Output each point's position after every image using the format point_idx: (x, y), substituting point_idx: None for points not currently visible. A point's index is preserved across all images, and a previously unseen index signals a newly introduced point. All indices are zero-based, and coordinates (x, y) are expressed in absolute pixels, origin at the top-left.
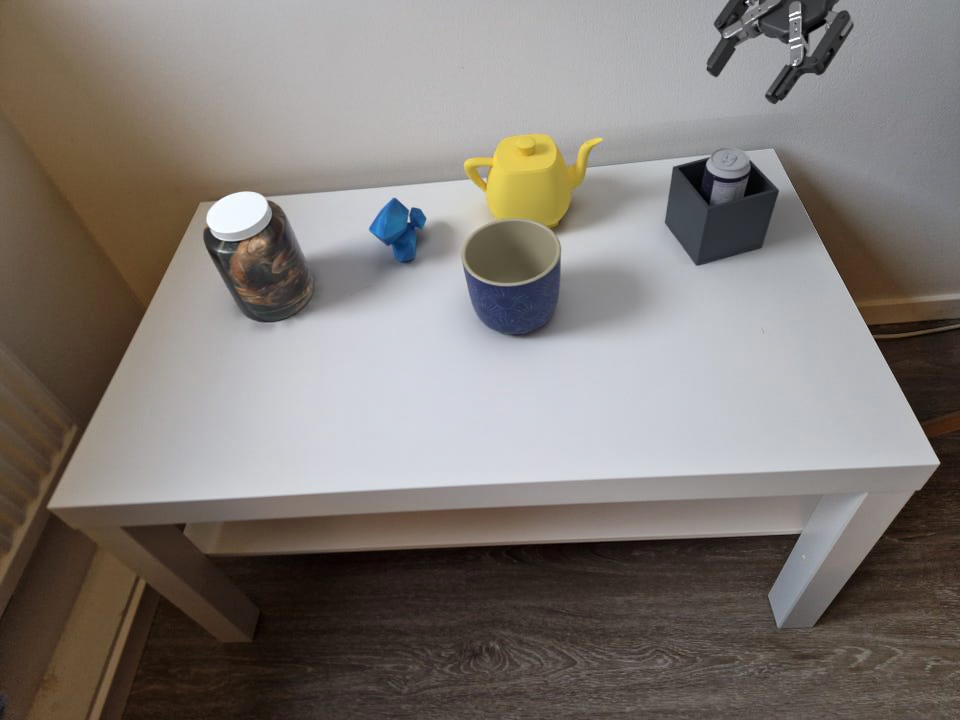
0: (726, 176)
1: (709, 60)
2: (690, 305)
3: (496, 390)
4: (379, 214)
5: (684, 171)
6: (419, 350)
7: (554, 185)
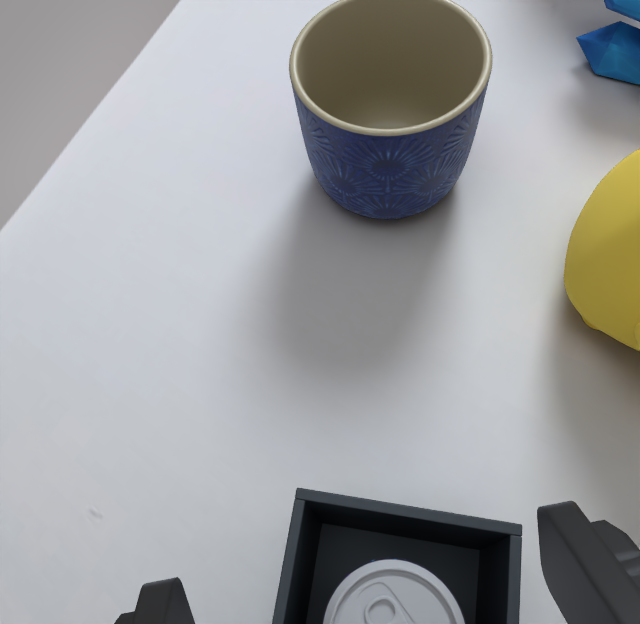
0: (343, 585)
1: (613, 536)
2: (229, 432)
3: (253, 97)
4: None
5: (504, 563)
6: None
7: (608, 245)
